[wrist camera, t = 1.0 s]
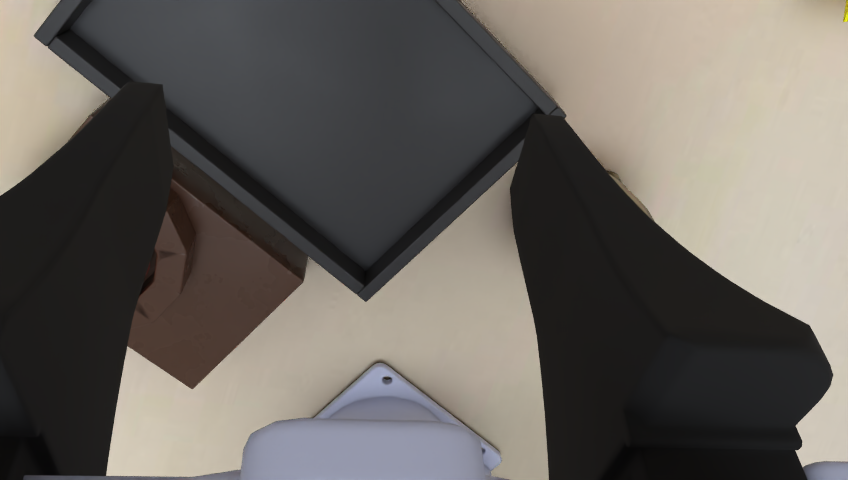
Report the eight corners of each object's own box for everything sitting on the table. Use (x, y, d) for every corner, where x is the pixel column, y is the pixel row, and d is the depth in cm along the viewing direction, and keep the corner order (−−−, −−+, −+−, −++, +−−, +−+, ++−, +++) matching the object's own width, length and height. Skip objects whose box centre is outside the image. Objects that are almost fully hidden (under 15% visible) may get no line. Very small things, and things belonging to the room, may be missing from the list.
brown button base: (308, 254, 36) (300, 302, 32) (203, 357, 38) (183, 414, 34) (108, 94, 32) (70, 126, 28) (5, 218, 34) (-45, 265, 30)
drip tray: (555, 101, 33) (567, 116, 31) (366, 278, 36) (366, 302, 34) (247, -223, 27) (236, -230, 25) (55, 25, 31) (32, 36, 28)
